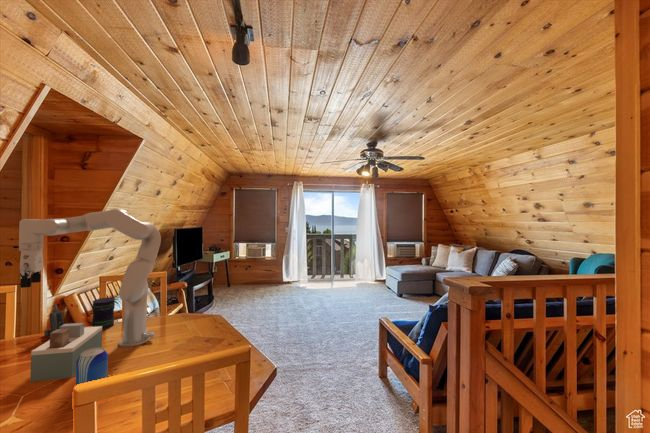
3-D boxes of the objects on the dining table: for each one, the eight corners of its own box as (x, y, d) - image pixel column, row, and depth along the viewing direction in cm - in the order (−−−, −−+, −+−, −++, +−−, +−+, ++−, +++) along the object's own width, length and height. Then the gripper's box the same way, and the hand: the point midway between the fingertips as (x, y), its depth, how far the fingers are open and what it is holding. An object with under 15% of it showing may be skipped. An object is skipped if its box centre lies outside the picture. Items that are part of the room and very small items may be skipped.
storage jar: (87, 328, 153) (88, 301, 154) (107, 322, 163) (108, 296, 163) (98, 331, 150) (99, 303, 150) (118, 325, 159) (119, 298, 159)
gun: (47, 306, 146) (62, 303, 140) (50, 339, 144) (65, 337, 138) (40, 308, 144) (55, 304, 138) (43, 341, 142) (58, 339, 136)
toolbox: (101, 351, 129) (102, 329, 129) (71, 377, 107) (72, 351, 107) (67, 353, 125) (68, 331, 125) (30, 382, 104) (31, 355, 104)
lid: (102, 329, 129) (102, 315, 129) (72, 351, 107) (73, 335, 107) (68, 331, 125) (68, 317, 125) (31, 355, 104) (31, 337, 104)
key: (67, 368, 112) (69, 328, 112) (61, 373, 108) (62, 332, 108) (55, 369, 111) (57, 329, 111) (48, 375, 107) (50, 333, 107)
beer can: (87, 390, 100) (89, 345, 100) (112, 389, 101) (113, 345, 101) (68, 406, 92) (69, 357, 92) (95, 405, 92) (96, 357, 93)
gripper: (34, 248, 119) (33, 288, 119) (50, 244, 134) (49, 279, 134) (9, 249, 115) (9, 290, 115) (28, 245, 130) (28, 281, 130)
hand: (30, 284), depth 124 cm, fingers open, 9 cm apart
